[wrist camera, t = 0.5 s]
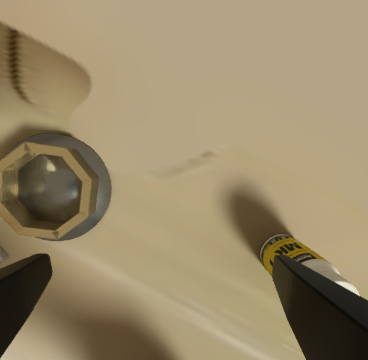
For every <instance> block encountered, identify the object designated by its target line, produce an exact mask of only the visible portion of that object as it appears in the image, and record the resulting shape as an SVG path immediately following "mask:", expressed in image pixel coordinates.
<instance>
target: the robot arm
mask: <svg viewBox="0 0 368 360" xmlns="http://www.w3.org/2000/svg"><path fill="white" fill-rule="evenodd" d="M51 277H52V266H51V261H50V256H49V255H48V254H35V255H32V256H30V257H28V258H25V259H23V260H20V261H18V262H15V263H13V264H11V265H8V266H6V267H3V268H1V269H0V358H1V357H2V355H3V354H4V352H5V351H6V349H7V348H8V346H9V345H10V343H11V342H12V341H13V339H14V338H15V336H16V335H17V333H18V332H19V330H20V329H21V327H22V326H23V325H24V323H25V322H26V320H27V318H28V317H29V315H30V314H31V312H32V310H33V309H34V307H35V305H36V303H37V302H38V300H39V298H40V296H41V295H42V293H43V291H44V289H45V288H46V286H47V284H48V282H49V281H50V279H51ZM272 278H273V281H274V284H275V287H276V290H277V292H278V295H279V298H280V301H281V304H282V306H283V309H284V312H285V315H286V317H287V320H288V322H289V324H290V326H291V328H292V331H293V333H294V335H295V337H296V339H297V341H298V343H299V345H300V348H301V350H302V352H303V354H304V356H305V358H306V360H368V300H366V299H364V298H362V297H361V296H359V295H357V294H355V293H353V292H352V291H350V290H348V289H346V288H345V287H343V286H341V285H339V284H337V283H336V282H334V281H332V280H330V279H328V278H327V277H325V276H323V275H321V274H319V273H318V272H316V271H314V270H312V269H310V268H309V267H307V266H305V265H303V264H301V263H300V262H298V261H296V260H294V259H292V258H291V257H289V256H287V255H275V256H274V259H273V268H272Z"/></svg>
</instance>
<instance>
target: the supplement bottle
mask: <svg viewBox="0 0 368 360" xmlns="http://www.w3.org/2000/svg"><path fill="white" fill-rule="evenodd" d="M275 255H287V256H289V257H291V258H292V259H294V260H296V261H298V262H300V263H301V264H303V265H305V266H307V267H309V268H310V269H312V270H314V271H316V272H318V273H319V274H321V275H323V276H325V277H327V278H328V279H330V280H332V281H334V282H336V283H337V284H339V285H341V286H343V287H345V288H346V289H348V290H350V291H352V292H353V293H355V294H357V295H359V293H358V291H357V289H356V288H355V287H354V286H353V285H352V284H351V283H350V282H348V281H347V280H346V279H344V278H343V277H342V276H341V275H340V273H339V272H338V270H337V269H336V268H335V267H334V266H333V265H332V264H331V263H330V262H328V261H327V260H325V259H324V258H322V257H321V256H319V255H318V254H317V253H315V252H314V251H312V250H311V249H309V248H308V247H306V246H305V245H303V244H302V243H301V242H299V241H298V240H296V239H295V238H293V237H291V236H289V235H285V234H278V235H275V236H272V237H270V238H269V239H268V240H267V241H266V242H265V243H264V245H263V246H262V248H261V252H260V259H261V262H262V264H263V266H264V268H265V269H266V270H267V271H268V273H269V274H270V275H271V276H272V268H273V259H274V256H275ZM359 296H360V295H359Z"/></svg>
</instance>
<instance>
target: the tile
mask: <svg viewBox="0 0 368 360" xmlns="http://www.w3.org/2000/svg"><path fill="white" fill-rule="evenodd" d="M7 257H9V256H8V255H7V254H6V253H5V252H4V251H3V250H2V249H1V247H0V262H2V261H3V260H4V259H6V258H7Z"/></svg>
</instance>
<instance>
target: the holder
mask: <svg viewBox="0 0 368 360" xmlns="http://www.w3.org/2000/svg"><path fill="white" fill-rule="evenodd" d="M110 198H111V181H110V176H109V173H108V170H107V168H106V166H105V164H104V162H103V161H102V159H101V158H100V156H99V155H98V154H97V153H96V152H95V151H94V150H93V149H92V148H91V147H90V146H88V145H87V144H85V143H84V142H82V141H80V140H78V139H76V138H73V137H70V136H66V135H61V134H53V133H46V134H39V135H34V136H31V137H28V138H26V139H24V140H22V141H21V142H19V143H18V144H16V145H15V146H14V147H13V148H12V149H11V150H10V151H9V152H8V153H7V154H6V156H5V157H4V158H3V159H2V160H0V215H1V216H2V217H3V218H4V220H5V221H6V222H7V223H8V224H9V225H10V226H11V227H12V228H13V229H14V231H15V232H16V233H17V234H18V235H25V236H33V237H36V238H40V239H43V240H49V241H64V240H70V239H73V238H76V237H79V236H81V235H83V234H85V233H86V232H88V231H89V230H91V229H92V228H93V227H94V226H95V225H96V224H97V223H98V222H99V221H100V220H101V219H102V217H103V216H104V214H105V213H106V210H107V208H108V206H109V203H110Z"/></svg>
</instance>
